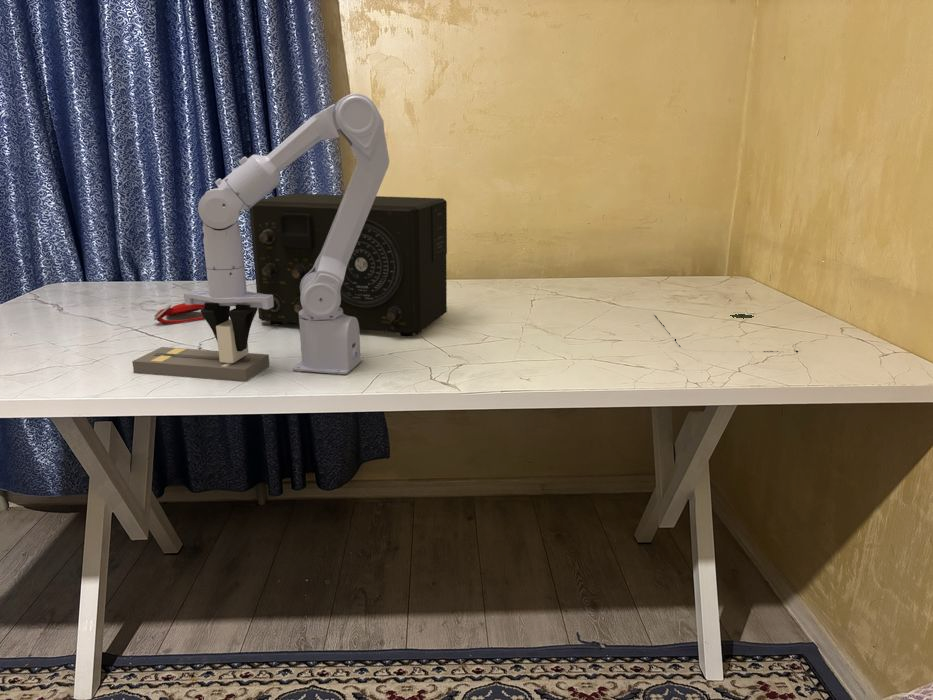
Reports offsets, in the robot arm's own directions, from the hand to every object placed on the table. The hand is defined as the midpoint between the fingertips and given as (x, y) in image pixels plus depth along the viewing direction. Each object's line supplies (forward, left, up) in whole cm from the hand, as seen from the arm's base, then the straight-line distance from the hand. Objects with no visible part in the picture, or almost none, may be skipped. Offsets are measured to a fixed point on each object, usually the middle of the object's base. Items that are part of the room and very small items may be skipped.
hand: (233, 349), depth 116 cm
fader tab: (0, 0, -2) cm, 2 cm away
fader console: (+6, 0, -4) cm, 7 cm away
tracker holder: (+28, -29, -4) cm, 41 cm away
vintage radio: (-7, -33, -4) cm, 34 cm away
